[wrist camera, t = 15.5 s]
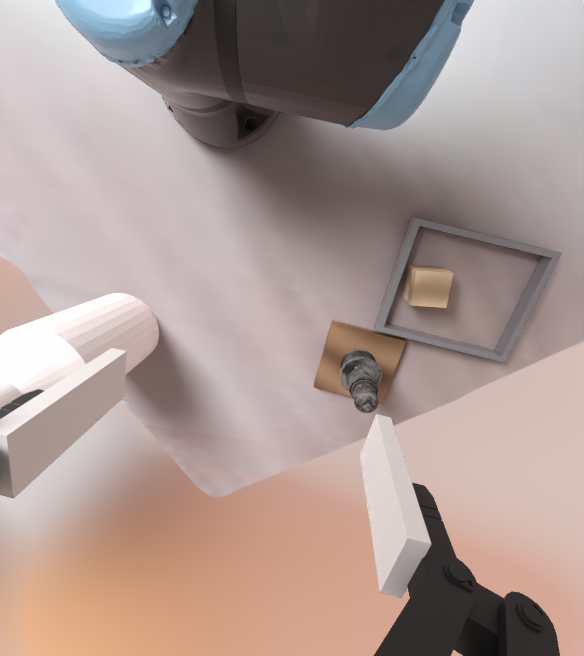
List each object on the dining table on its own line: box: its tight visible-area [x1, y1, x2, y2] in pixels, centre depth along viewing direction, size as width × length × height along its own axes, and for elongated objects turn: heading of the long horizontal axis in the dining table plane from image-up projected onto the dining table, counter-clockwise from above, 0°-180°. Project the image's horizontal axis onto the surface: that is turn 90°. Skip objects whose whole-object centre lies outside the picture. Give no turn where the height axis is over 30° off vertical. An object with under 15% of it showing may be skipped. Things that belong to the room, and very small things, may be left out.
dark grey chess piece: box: [340, 349, 382, 413], centre depth 43 cm, size 6×6×12 cm
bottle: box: [0, 293, 159, 409], centre depth 40 cm, size 12×12×25 cm
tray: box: [374, 217, 561, 363], centre depth 44 cm, size 16×19×2 cm
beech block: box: [403, 265, 454, 308], centre depth 43 cm, size 4×4×4 cm
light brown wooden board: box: [314, 321, 406, 404], centre depth 49 cm, size 11×11×1 cm
